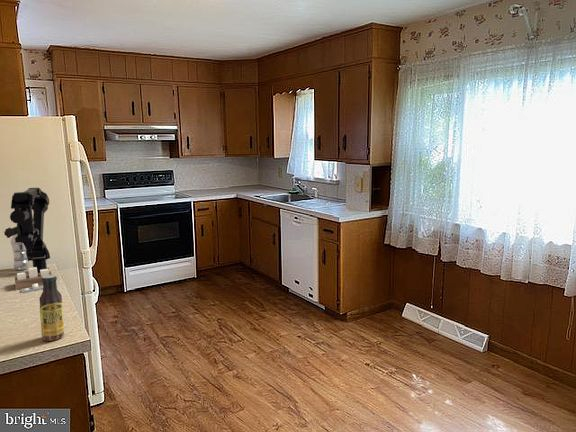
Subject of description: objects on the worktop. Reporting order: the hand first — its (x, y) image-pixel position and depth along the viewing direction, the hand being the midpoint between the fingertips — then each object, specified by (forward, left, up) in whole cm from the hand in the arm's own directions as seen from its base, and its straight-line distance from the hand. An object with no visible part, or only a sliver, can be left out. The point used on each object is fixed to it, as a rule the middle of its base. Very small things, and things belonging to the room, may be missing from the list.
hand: (29, 253), depth 196 cm
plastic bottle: (-22, -8, -12) cm, 26 cm away
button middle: (+9, +2, -10) cm, 13 cm away
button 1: (+10, -2, -11) cm, 15 cm away
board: (+9, +2, -12) cm, 15 cm away
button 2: (+8, +7, -11) cm, 15 cm away
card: (+17, +4, -12) cm, 21 cm away
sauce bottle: (+75, +19, -12) cm, 78 cm away
